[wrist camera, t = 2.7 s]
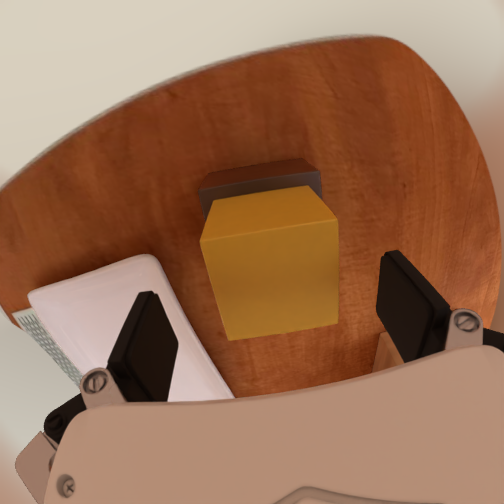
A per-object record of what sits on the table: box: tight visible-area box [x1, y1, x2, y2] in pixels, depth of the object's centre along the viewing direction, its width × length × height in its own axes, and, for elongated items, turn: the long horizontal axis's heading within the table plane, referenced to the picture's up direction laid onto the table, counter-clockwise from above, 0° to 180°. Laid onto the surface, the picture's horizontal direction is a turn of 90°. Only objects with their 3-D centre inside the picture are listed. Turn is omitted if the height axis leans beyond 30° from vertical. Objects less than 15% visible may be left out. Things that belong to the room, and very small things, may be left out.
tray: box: [28, 254, 235, 402], centre depth 28 cm, size 17×32×4 cm, turn 16°
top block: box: [200, 185, 339, 341], centre depth 14 cm, size 6×6×6 cm
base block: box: [198, 158, 322, 223], centre depth 19 cm, size 7×7×5 cm
